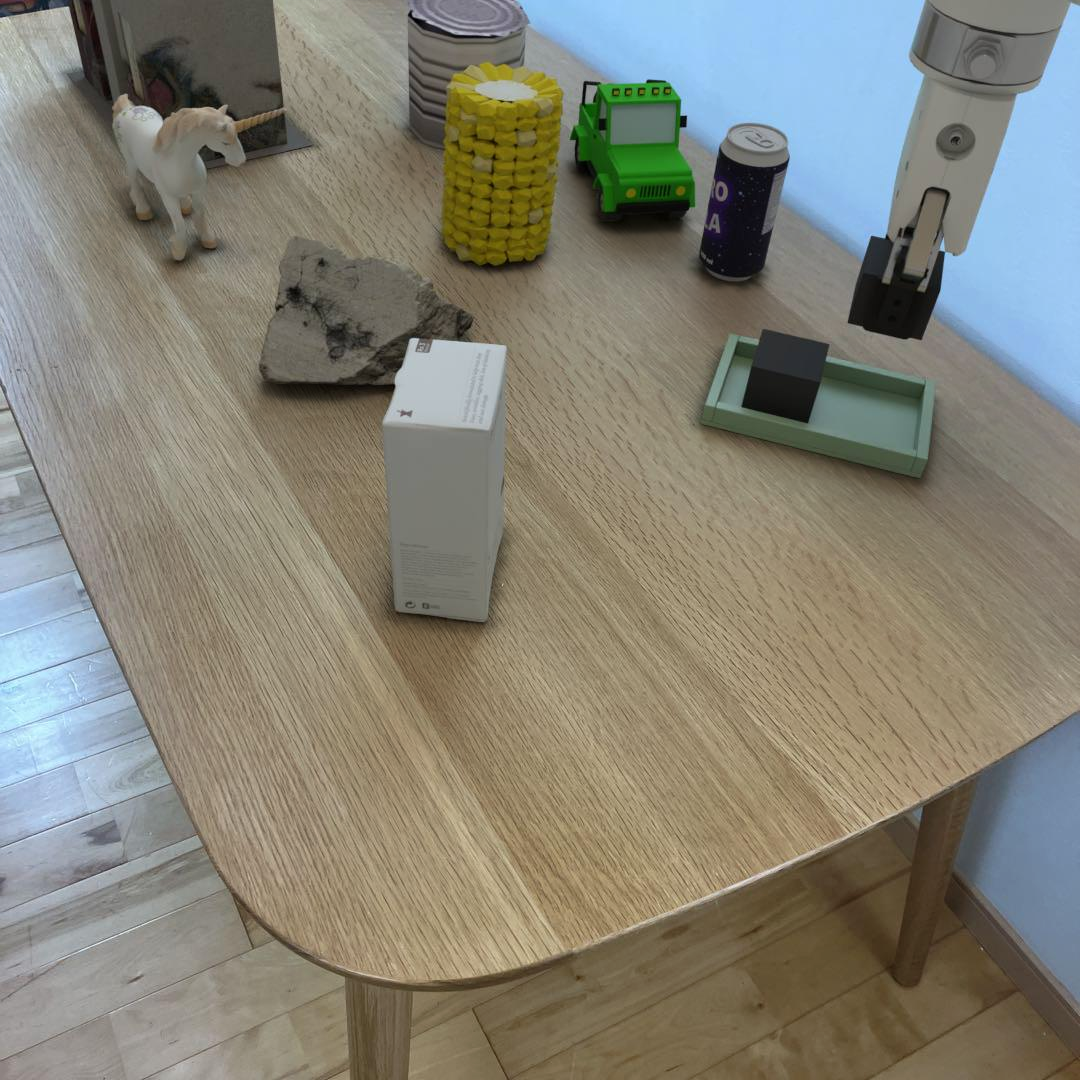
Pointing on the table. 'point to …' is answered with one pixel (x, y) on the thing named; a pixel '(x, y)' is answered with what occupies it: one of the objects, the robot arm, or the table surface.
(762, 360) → the black block
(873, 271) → the black cube
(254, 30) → the bookend
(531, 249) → the food
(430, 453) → the cosmetic box
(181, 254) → the unicorn figurine
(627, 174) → the toy car
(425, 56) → the can
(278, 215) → the table surface
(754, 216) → the beverage can
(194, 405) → the table surface
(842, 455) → the tray
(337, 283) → the stone
